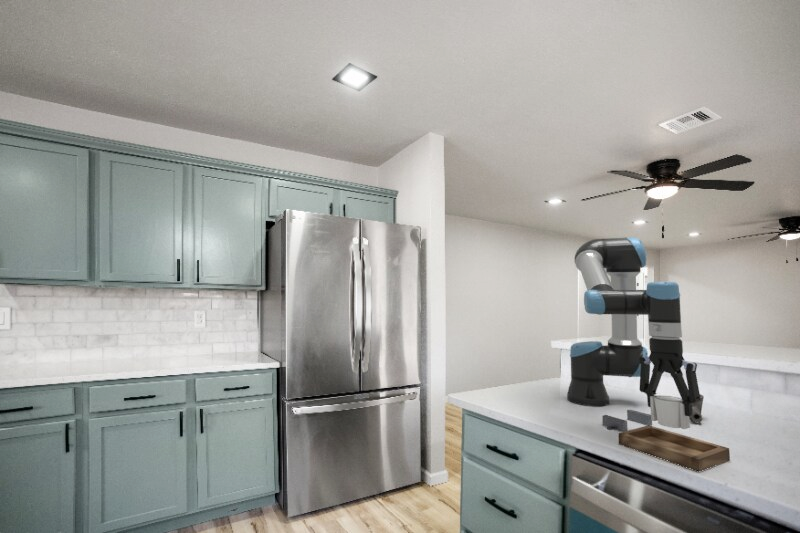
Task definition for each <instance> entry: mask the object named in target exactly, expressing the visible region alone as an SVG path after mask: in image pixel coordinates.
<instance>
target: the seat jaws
mask: <svg viewBox="0 0 800 533" xmlns="http://www.w3.org/2000/svg"><path fill="white" fill-rule="evenodd" d="M626 417H627V418H626V419H627V420H625V419H622V418H619V417H615V416H612V415H608V414H605V415H602V419H601V420H602V426H604V427H606V430H609V431H611V430H616V431H620V432H624V431H628V421H632V422H635V423H639V424H643V425H645V426H648V425H650V426H653V421H652V420H651V413H645V412H641V411H637V410H633V409H627V410H626Z"/></svg>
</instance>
